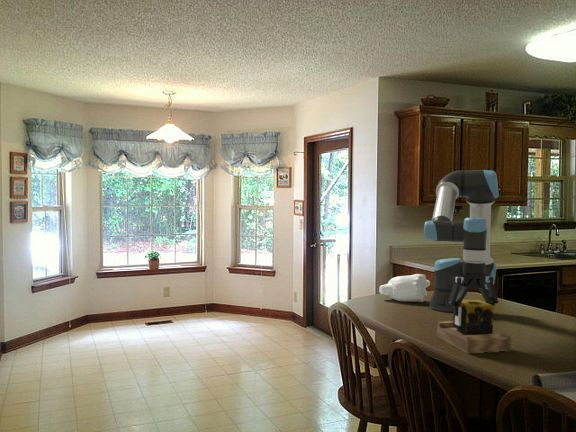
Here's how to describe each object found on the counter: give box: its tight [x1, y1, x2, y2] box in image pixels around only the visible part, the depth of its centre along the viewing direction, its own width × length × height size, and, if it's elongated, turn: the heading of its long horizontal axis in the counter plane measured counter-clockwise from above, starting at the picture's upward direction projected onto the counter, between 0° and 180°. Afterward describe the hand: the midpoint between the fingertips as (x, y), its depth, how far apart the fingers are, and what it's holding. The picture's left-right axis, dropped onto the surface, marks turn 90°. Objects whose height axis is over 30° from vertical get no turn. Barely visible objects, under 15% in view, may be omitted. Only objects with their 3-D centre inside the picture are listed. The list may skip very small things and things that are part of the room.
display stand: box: [436, 320, 512, 355], centre depth 174 cm, size 16×20×6 cm
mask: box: [378, 273, 431, 303], centre depth 247 cm, size 14×14×25 cm
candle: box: [452, 299, 495, 334], centre depth 174 cm, size 10×10×10 cm
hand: (472, 324), depth 174 cm, fingers open, 11 cm apart
